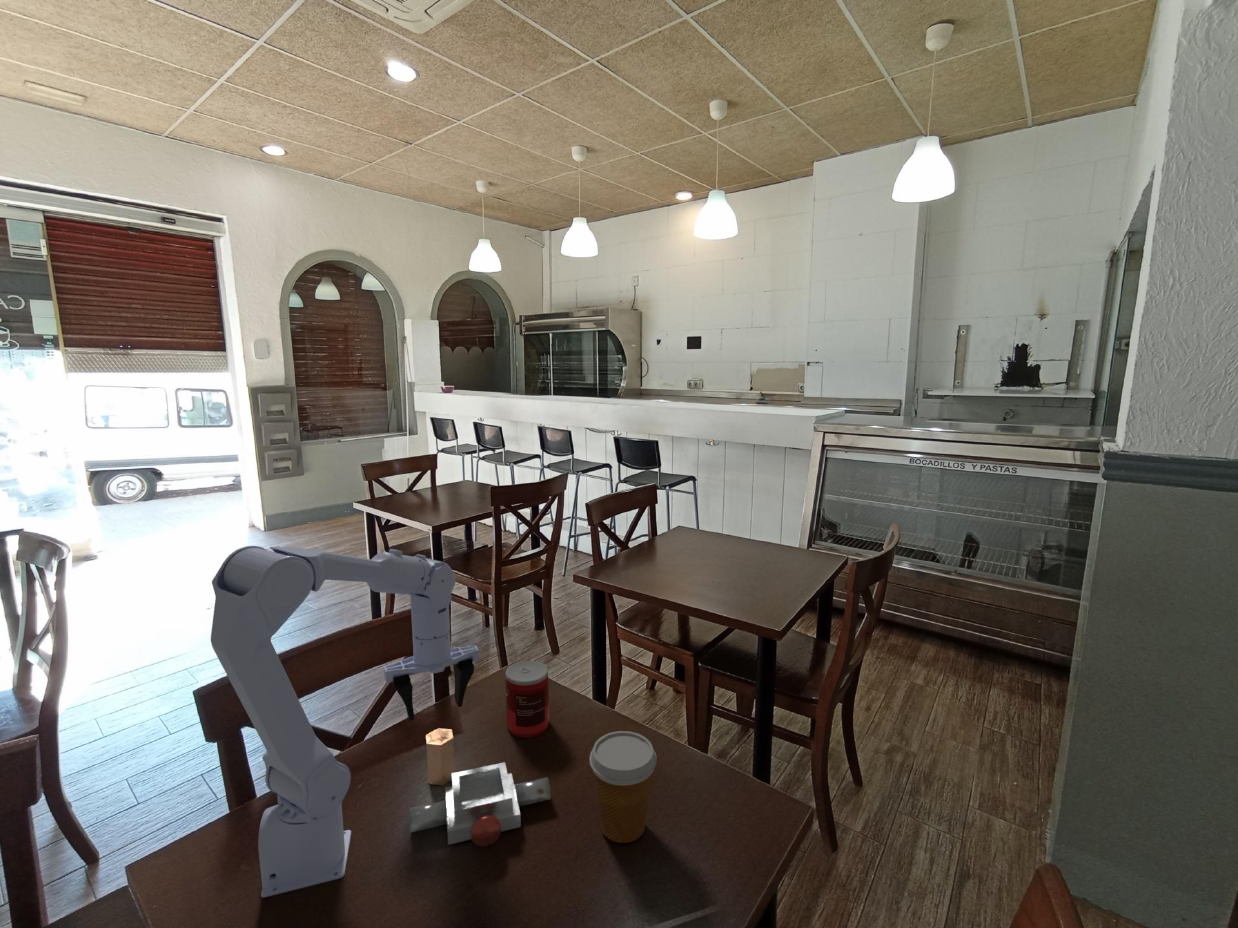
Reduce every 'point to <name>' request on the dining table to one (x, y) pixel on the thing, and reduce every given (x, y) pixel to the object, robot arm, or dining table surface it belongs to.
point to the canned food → (527, 698)
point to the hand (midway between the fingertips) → (435, 710)
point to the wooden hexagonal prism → (440, 756)
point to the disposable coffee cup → (623, 783)
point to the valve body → (480, 805)
